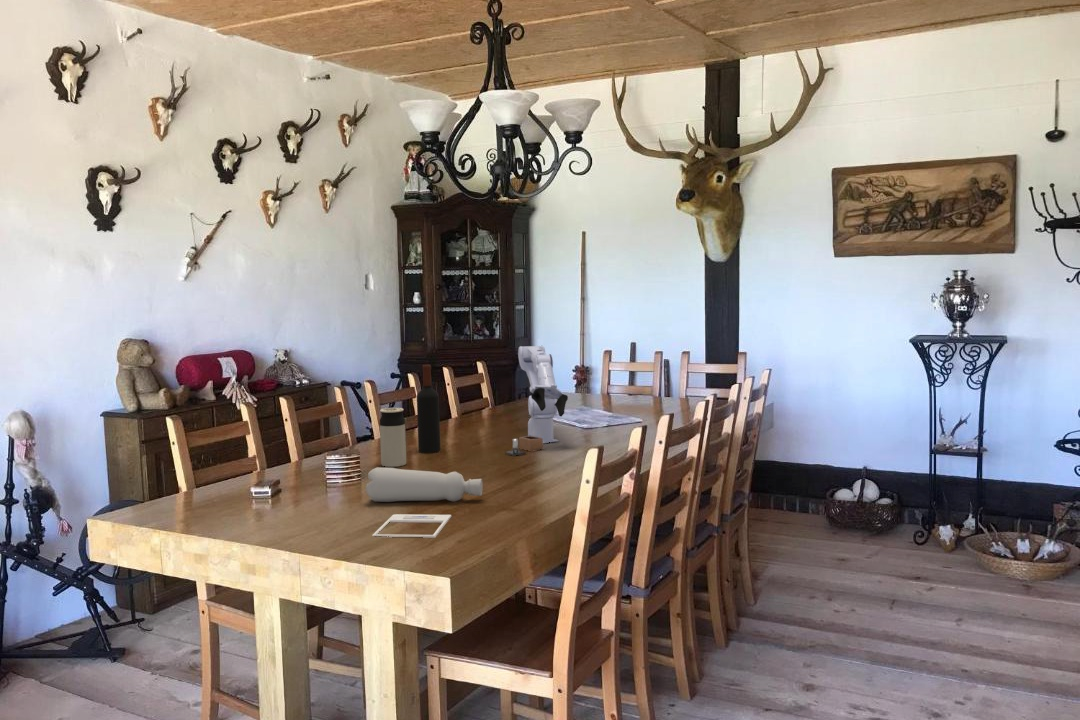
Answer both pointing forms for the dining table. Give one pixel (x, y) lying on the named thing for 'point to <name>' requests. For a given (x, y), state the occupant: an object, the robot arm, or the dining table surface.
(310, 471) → the dining table surface
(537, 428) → the robot arm
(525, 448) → the copper rectangular sleeve
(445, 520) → the photo frame
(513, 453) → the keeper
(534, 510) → the dining table surface
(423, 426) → the wine bottle
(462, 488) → the bottle
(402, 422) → the travel mug
